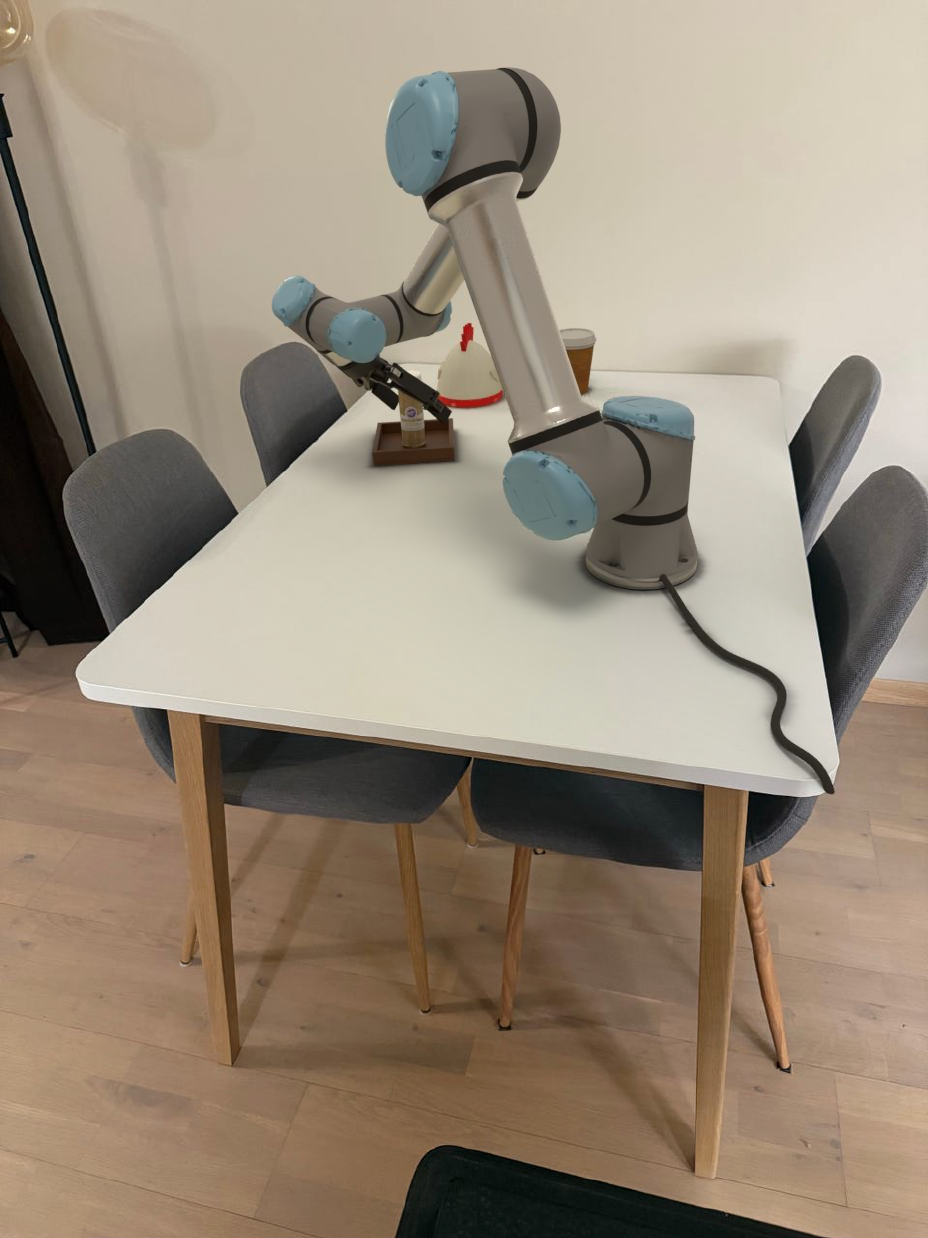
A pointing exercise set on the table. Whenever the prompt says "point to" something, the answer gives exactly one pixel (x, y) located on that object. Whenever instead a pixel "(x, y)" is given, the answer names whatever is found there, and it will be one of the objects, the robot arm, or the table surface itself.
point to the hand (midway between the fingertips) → (421, 410)
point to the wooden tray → (394, 452)
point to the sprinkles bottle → (411, 419)
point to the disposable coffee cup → (579, 353)
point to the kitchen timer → (468, 375)
